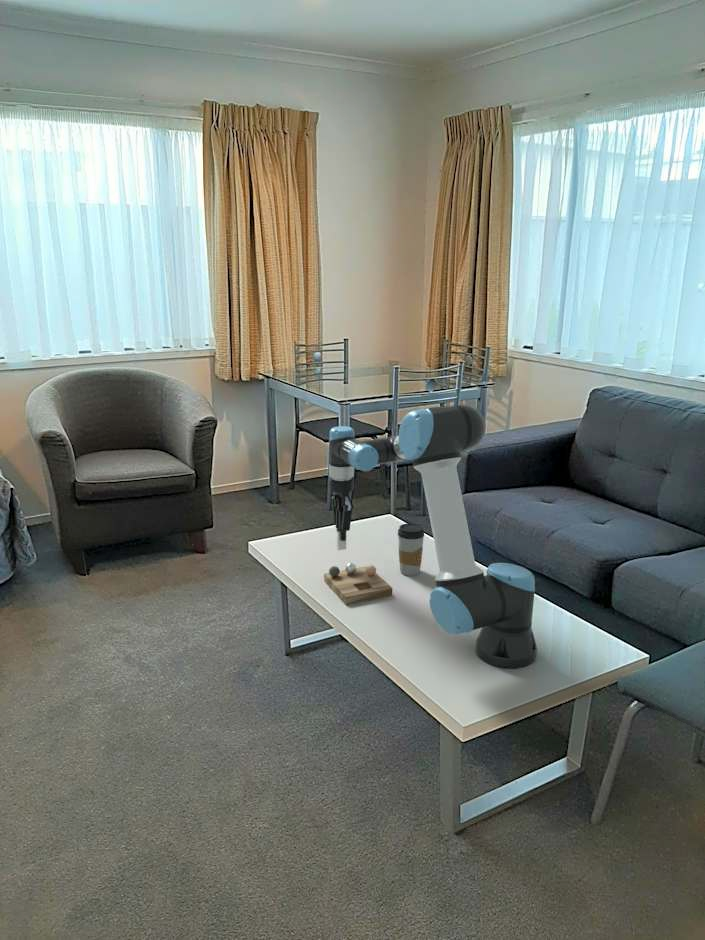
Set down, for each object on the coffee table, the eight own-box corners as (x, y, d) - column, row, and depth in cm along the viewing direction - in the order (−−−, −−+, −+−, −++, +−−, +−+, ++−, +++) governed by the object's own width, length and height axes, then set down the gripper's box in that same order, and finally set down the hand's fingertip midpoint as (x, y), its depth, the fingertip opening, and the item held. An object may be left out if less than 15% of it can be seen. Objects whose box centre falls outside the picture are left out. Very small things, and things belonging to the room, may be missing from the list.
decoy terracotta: (377, 576, 227) (378, 566, 226) (368, 578, 226) (368, 568, 225) (373, 572, 230) (373, 562, 229) (364, 574, 228) (364, 564, 227)
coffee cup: (413, 579, 230) (415, 534, 226) (391, 572, 235) (392, 528, 231) (428, 570, 237) (429, 526, 232) (406, 564, 242) (407, 520, 237)
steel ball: (357, 574, 228) (357, 564, 227) (347, 576, 226) (347, 566, 225) (353, 570, 231) (353, 560, 230) (343, 572, 229) (343, 562, 228)
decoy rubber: (341, 577, 226) (341, 567, 225) (331, 579, 225) (331, 569, 224) (337, 573, 229) (337, 563, 228) (327, 575, 227) (327, 565, 226)
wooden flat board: (392, 595, 220) (392, 587, 219) (345, 604, 214) (345, 596, 213) (368, 573, 235) (368, 565, 234) (324, 581, 229) (324, 573, 228)
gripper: (361, 482, 222) (360, 554, 229) (344, 469, 234) (344, 539, 241) (338, 485, 219) (338, 558, 226) (322, 472, 231) (322, 543, 238)
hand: (341, 548), depth 233 cm, fingers closed
